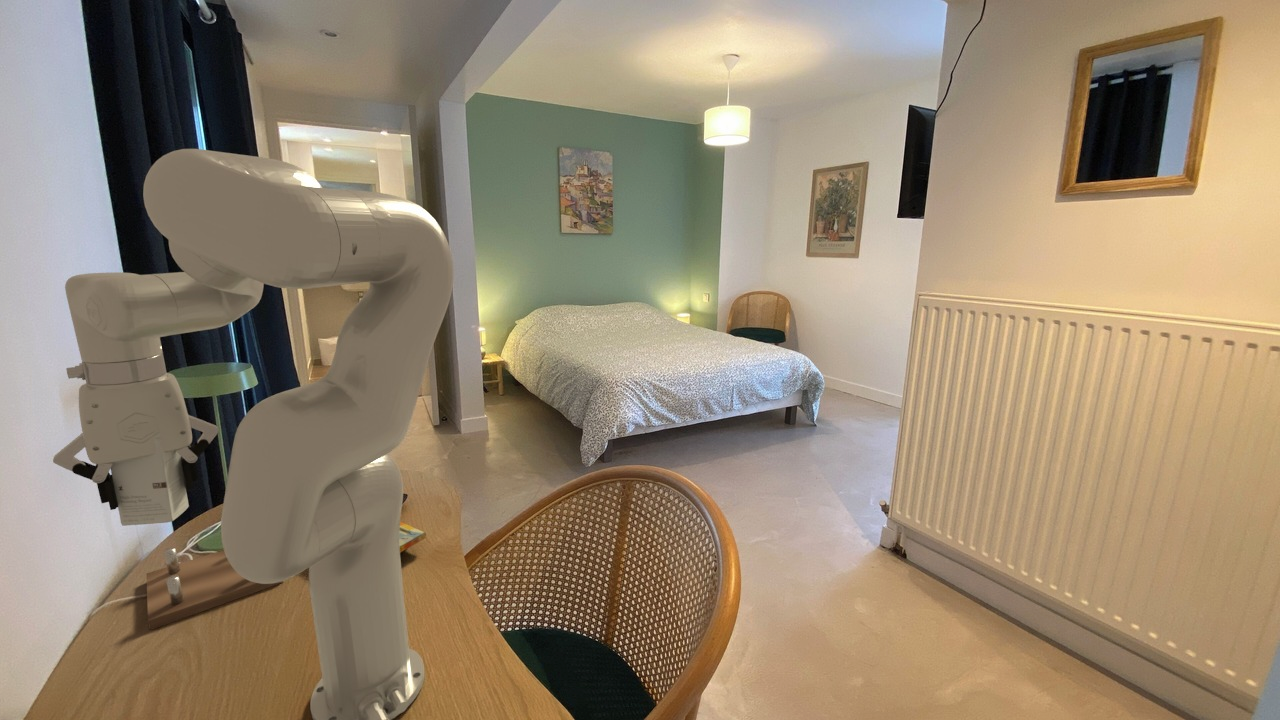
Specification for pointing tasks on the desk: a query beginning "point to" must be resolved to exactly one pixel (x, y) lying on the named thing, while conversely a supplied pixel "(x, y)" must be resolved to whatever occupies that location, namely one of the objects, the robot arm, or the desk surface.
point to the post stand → (194, 587)
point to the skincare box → (150, 488)
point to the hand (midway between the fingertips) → (153, 495)
